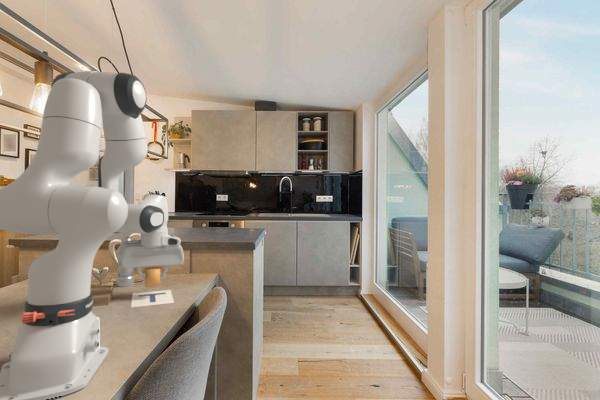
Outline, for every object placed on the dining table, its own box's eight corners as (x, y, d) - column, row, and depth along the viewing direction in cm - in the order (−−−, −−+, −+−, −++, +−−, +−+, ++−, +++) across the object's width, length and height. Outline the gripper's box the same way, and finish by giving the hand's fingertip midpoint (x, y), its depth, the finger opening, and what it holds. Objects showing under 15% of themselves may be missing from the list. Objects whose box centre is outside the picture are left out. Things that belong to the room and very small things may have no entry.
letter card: (174, 305, 107) (174, 302, 107) (130, 310, 101) (130, 307, 101) (170, 292, 121) (170, 289, 121) (132, 296, 115) (132, 293, 115)
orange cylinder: (160, 286, 110) (161, 269, 110) (145, 287, 108) (145, 270, 108) (160, 282, 114) (160, 266, 114) (145, 283, 112) (145, 267, 112)
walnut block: (108, 309, 102) (108, 296, 102) (78, 311, 99) (79, 299, 99) (112, 300, 111) (112, 289, 111) (85, 302, 107) (85, 291, 107)
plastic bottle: (126, 290, 122) (128, 239, 122) (111, 288, 123) (113, 238, 123) (138, 286, 128) (139, 237, 128) (123, 284, 129) (125, 236, 129)
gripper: (119, 242, 103) (118, 283, 104) (185, 240, 113) (184, 278, 113) (121, 239, 109) (120, 278, 109) (183, 237, 118) (182, 274, 118)
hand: (153, 278), depth 111 cm, fingers closed on orange cylinder, 5 cm apart
